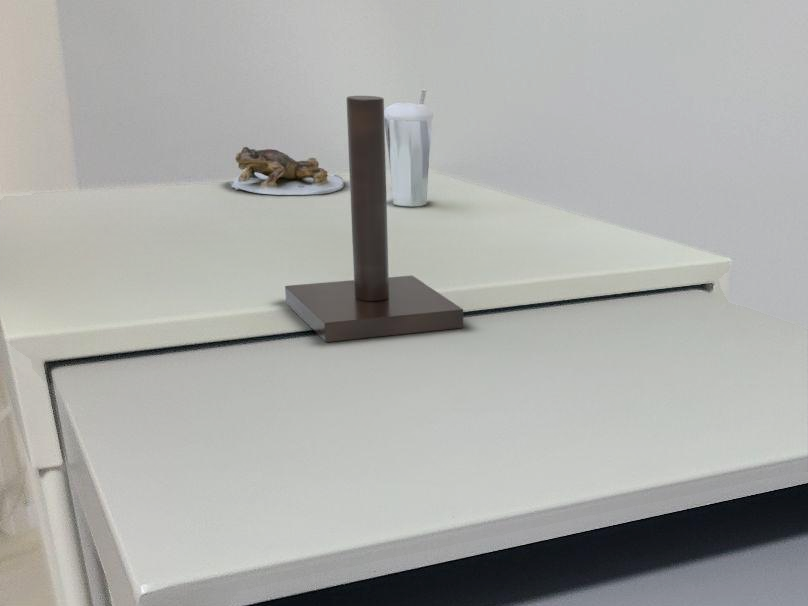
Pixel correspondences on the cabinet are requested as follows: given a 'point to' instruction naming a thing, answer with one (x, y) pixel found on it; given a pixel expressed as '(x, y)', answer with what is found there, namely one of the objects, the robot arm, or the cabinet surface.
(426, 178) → the milkshake
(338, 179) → the frog figurine
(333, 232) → the cabinet surface
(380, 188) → the post
